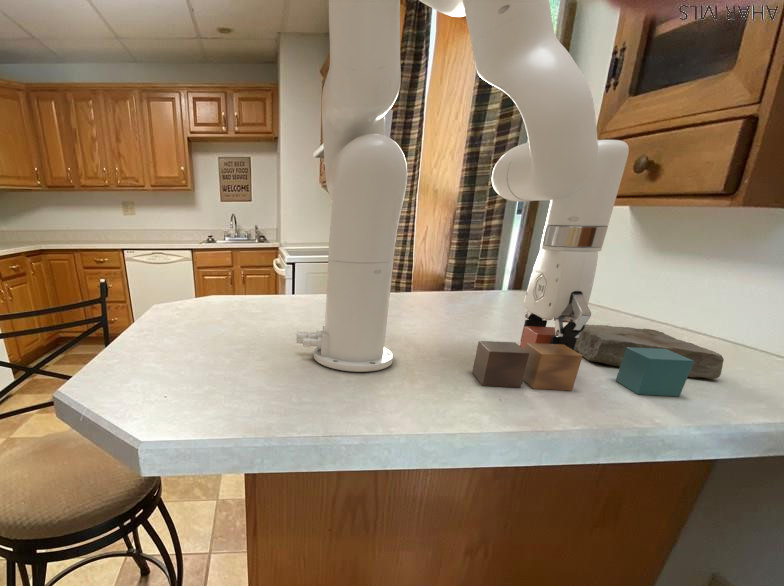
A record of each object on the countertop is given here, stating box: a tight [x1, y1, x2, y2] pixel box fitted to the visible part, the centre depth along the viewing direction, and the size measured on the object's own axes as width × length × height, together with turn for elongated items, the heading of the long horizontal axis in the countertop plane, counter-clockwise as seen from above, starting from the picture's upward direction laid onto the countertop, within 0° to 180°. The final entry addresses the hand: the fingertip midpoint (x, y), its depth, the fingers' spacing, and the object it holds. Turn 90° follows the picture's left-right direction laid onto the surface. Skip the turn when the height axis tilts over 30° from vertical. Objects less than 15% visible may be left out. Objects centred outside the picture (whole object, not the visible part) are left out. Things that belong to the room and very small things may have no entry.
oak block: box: [523, 343, 583, 391], centre depth 59 cm, size 5×5×5 cm
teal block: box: [615, 347, 694, 397], centre depth 57 cm, size 5×5×5 cm
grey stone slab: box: [574, 323, 724, 380], centre depth 68 cm, size 17×15×4 cm
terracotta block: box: [519, 325, 556, 350], centre depth 67 cm, size 5×5×5 cm
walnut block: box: [471, 340, 529, 389], centre depth 59 cm, size 5×5×5 cm
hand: (543, 351), depth 68 cm, fingers open, 9 cm apart
